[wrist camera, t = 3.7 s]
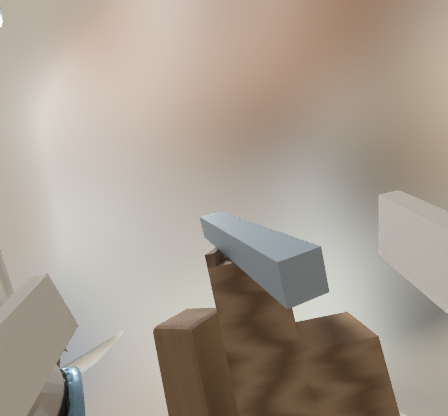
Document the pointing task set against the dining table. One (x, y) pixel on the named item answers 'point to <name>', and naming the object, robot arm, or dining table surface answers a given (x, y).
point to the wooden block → (195, 365)
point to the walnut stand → (295, 354)
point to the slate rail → (270, 258)
